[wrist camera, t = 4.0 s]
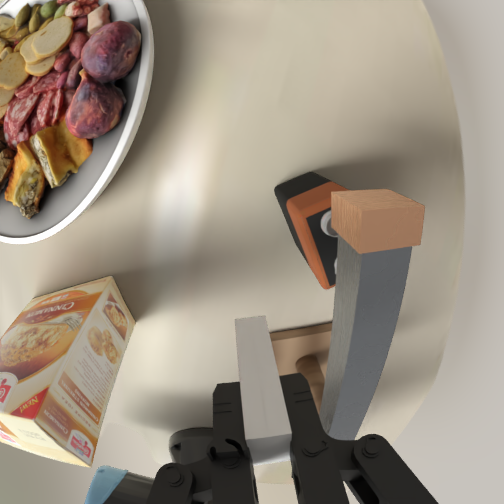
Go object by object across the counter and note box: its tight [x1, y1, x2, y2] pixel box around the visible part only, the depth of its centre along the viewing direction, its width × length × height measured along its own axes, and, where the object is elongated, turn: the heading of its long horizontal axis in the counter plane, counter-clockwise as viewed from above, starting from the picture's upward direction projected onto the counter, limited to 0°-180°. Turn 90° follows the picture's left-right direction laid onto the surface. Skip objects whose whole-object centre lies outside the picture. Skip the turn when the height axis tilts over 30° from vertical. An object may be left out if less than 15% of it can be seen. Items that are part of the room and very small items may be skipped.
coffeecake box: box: [0, 276, 136, 468], centre depth 20 cm, size 15×7×20 cm, turn 103°
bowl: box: [0, 0, 154, 244], centre depth 15 cm, size 30×30×8 cm
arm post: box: [269, 323, 332, 414], centre depth 30 cm, size 10×10×12 cm
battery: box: [274, 172, 350, 289], centre depth 23 cm, size 4×7×10 cm, turn 24°
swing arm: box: [319, 189, 425, 440], centre depth 18 cm, size 4×26×4 cm, turn 5°
